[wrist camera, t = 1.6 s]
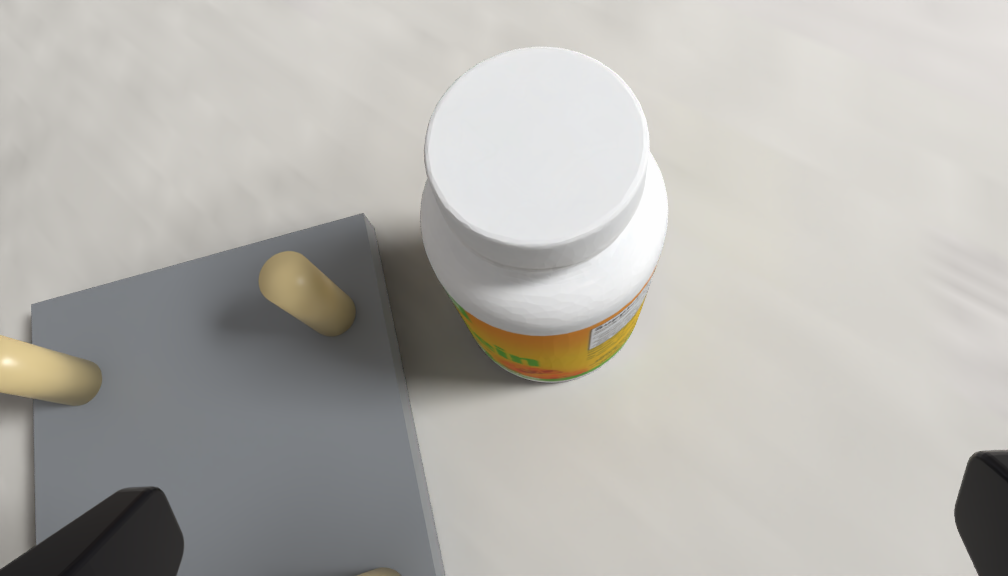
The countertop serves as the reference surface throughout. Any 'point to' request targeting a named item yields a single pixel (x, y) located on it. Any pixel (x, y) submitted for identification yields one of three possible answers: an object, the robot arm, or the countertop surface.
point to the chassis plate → (237, 408)
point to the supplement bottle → (543, 209)
